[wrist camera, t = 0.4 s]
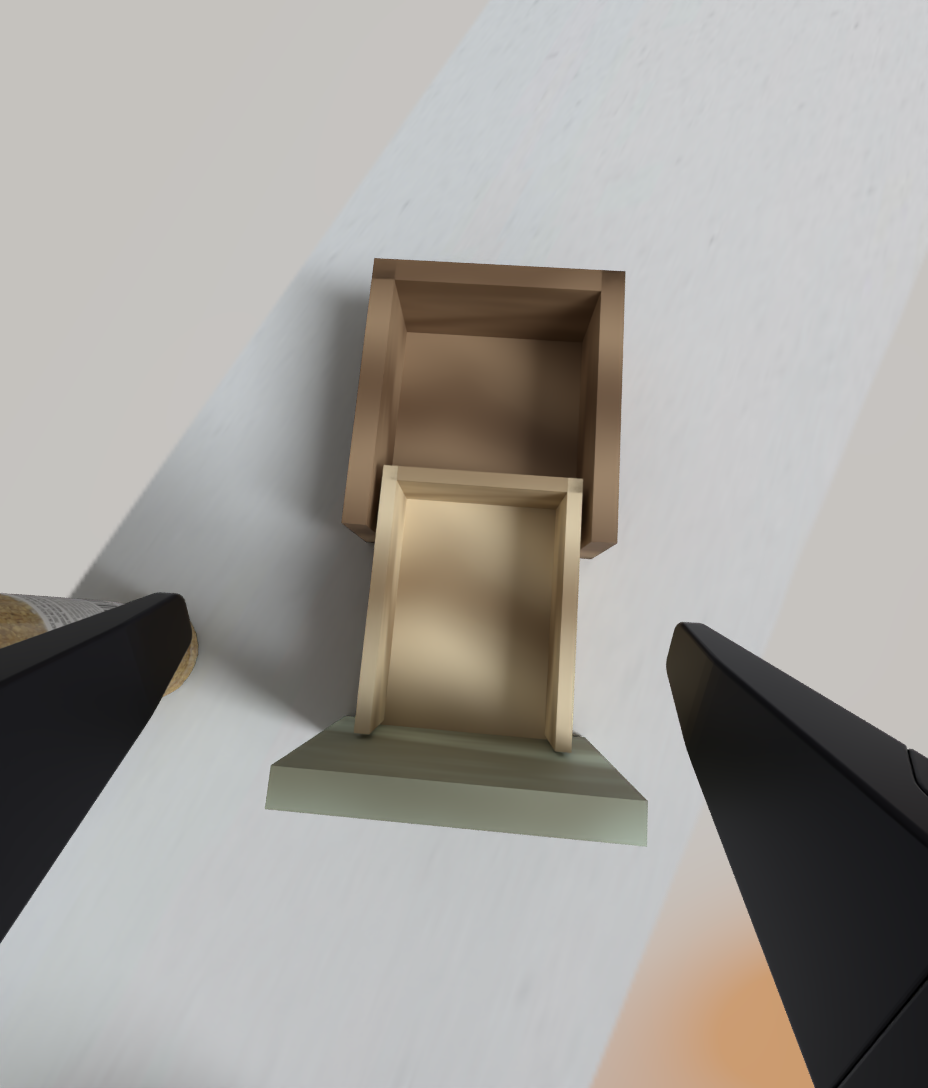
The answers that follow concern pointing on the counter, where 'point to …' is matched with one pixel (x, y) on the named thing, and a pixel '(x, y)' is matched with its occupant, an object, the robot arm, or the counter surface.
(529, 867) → the counter surface
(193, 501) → the counter surface
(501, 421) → the walnut caddy
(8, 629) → the spice jar
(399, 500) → the drawer
